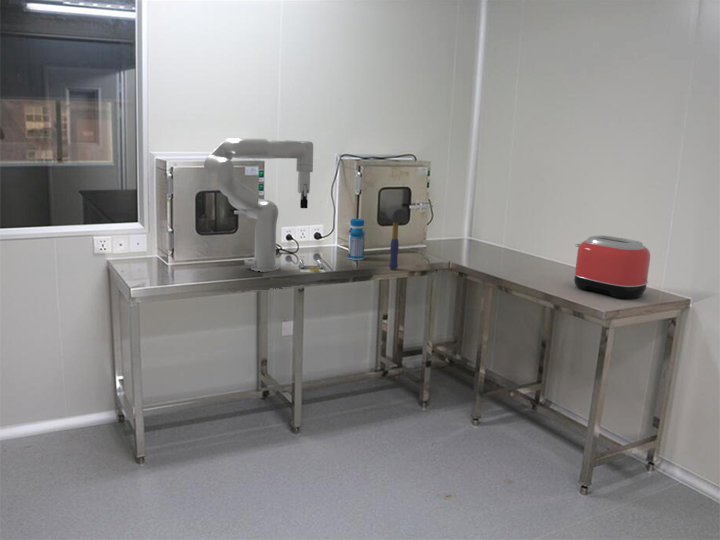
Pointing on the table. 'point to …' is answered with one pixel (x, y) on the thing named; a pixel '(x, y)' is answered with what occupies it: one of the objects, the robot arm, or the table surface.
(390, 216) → the rubber mallet
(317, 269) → the brass nut
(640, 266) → the toaster
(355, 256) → the beverage bottle
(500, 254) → the table surface
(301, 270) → the spacer board
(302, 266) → the spacer rows
